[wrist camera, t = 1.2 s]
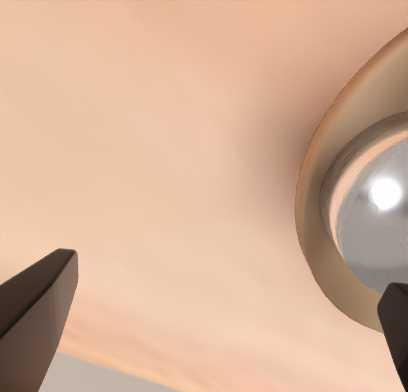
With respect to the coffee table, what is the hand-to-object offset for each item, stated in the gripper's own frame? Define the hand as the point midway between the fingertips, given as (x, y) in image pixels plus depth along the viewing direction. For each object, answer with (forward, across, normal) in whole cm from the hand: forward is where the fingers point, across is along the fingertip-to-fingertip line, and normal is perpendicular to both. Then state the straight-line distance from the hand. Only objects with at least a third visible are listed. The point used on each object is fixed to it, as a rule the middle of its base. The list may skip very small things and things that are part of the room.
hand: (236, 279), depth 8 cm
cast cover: (+8, -9, 0) cm, 12 cm away
